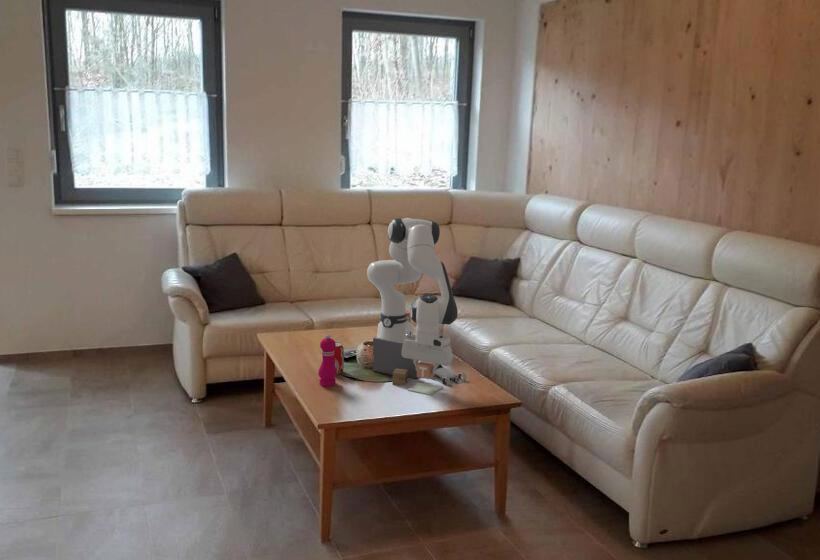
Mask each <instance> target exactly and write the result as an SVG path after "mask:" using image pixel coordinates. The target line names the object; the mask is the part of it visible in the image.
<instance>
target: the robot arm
mask: <svg viewBox="0 0 820 560" xmlns="http://www.w3.org/2000/svg"><path fill="white" fill-rule="evenodd" d="M387 235H388V239H389V240H390V243H389V247H388V253H389V256H390V257H391V258H392V259H386V260H385V259H382V260H377V261H373V262H370V264H369V265H368V267H367V269H366V275H367V279H368V280H369V282H370V283H371V284H372V285H374V286H375V287H376V288H377V290H378V292H379V294H380V300H381V312H380V316H379V319H380V321H379V322H378V325H377V332H376V333H377V334H376V336H375V337H376V338H382V339H387V340H393V341H399V342H403V346H402V353H401V355H402V356H403V357H404V358H409V359H413V363H414V364H415V366H416V371H417V364H419V363H418V361H425V362H430V363H434V365H433V366H435V367H434V368H432V369H431V374H436V369H437V367H438V366H439V364H440V365H442V366H448V365H449V366H450V364H451V363H452V361H453V350H452V347H451V345H450V343H452V342H451V341H452V340H451V338H450V337H448V336H446V335H444V334H443V333H441V332H440V328H439V324H442V325H452V324H453V323H454V322H455V321H456V320H457V319H458V314H459V311H458V309H459V308H458V305H457V302H456V300H455V298H454V294H453V290H452V287H451V283H450V278H449V275H448V271H447V268H446V266H445V264H444V262H443V261H441V260H439V258H438V256H437V255H436V252H435V251H436V250H435V246H436V244H437V243H438V242H439V240H440V235H441V229H440V226H439V224H438V222H436V221H434V220H433V221H432V220H426V219H420V218H411V217H404V218H400V217H399V218H398V217H397V218H393V219H392V220H391V221H390V222H389V224H388V228H387ZM422 274H423V275H425V276H428V277H431V278H432V279H434V280H435V281H436V282H437V284H438V287H439V291H440V295H441V296H440V297H441V298H438V297H437V296H436V295H434V294H429V293H425V294H422V295H420V296H418V298H417V299H414V300H413V301H412V302H411V303H410V312H409V311H408V312H407V311H406V310H407V302H406V301H407V298H406V296H405V294H404V293H402V292H401V291H399V290H397V289H396V287H395V286H396V285H399V284H400V285H402V284H410V283H415V282H418V281H419V280H420V279H421V277H422ZM408 317H409V318H410V320H411V321H412V322H414V323H415V324H416V327H415V328H414V325H413V324H412V323H411V322H410V321H409V320H408Z"/></svg>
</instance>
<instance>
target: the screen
mask: <svg viewBox="0 0 820 560" xmlns="http://www.w3.org/2000/svg"><path fill="white" fill-rule="evenodd" d="M376 337H377V336H375V337H373V338H372V339H373V340H372V356H373V355H374V363H373V362H372V369H371V370H373V372H375V371H377V373H380V372H381V373H382V374H385V373H386V375H390V376H393V371H394V370H395V369H405V370H408V379H411V380H414V381H415V380H418V379H420V377H417V371H416V366H415V364H414V363H413V359H409V358H404V357H403V356H402V355H401V353H402V346H403V342H399V341H393V340H387V339H382V338H376Z"/></svg>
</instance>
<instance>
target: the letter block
mask: <svg viewBox="0 0 820 560" xmlns="http://www.w3.org/2000/svg"><path fill="white" fill-rule="evenodd" d="M433 365H434V363H430V362H425V361H422V362H420V363H419V364H417V377H419V379H420V378H421V379H425V380H429V379H431V377H433V376H434V374H431V369H432V368H434V367H435V366H433Z"/></svg>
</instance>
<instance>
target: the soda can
mask: <svg viewBox="0 0 820 560" xmlns="http://www.w3.org/2000/svg"><path fill="white" fill-rule="evenodd" d="M335 343H336V346H335V349H334V355H333V362H334V365H335V367H336V370H337V375H340V374H342V373H343V372H344V369H345V368H344V367H345V365H344V364H345V363H344V362H345V360H344V359H345V354H344V353H345V350H344V349H345V347H344V346H343V343H342V342H338V341H335Z"/></svg>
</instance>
